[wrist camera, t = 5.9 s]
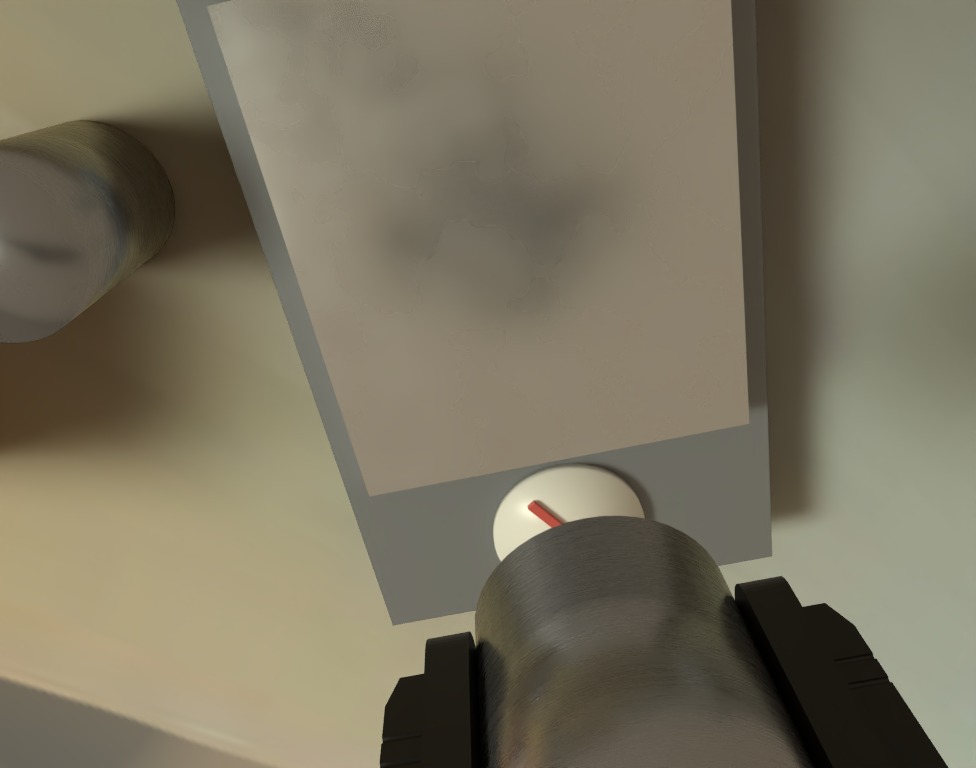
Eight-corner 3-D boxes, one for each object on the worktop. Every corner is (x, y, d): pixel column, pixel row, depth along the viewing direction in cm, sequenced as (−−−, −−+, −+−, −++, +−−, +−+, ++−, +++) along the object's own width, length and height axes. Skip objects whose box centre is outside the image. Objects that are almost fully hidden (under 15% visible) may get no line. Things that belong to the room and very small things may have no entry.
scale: (203, -5, 20) (165, -8, 17) (718, -123, 19) (760, -145, 17) (397, 580, 29) (391, 637, 27) (748, 515, 29) (778, 567, 26)
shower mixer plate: (219, 6, 18) (206, 6, 17) (711, -106, 17) (726, -113, 16) (372, 478, 24) (369, 496, 23) (737, 408, 23) (749, 423, 23)
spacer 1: (-6, 138, 21) (-159, 178, 16) (139, 106, 21) (33, 136, 16) (63, 280, 23) (-53, 358, 18) (196, 251, 23) (119, 322, 18)
